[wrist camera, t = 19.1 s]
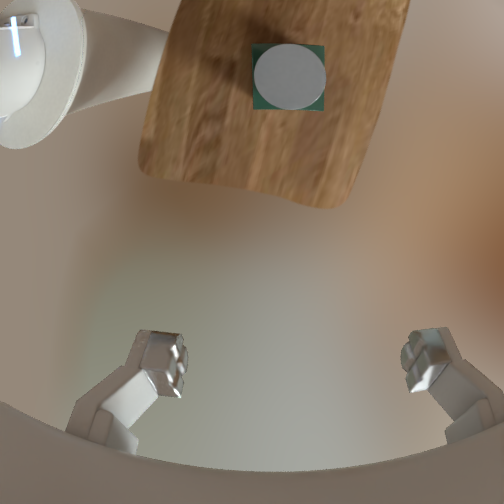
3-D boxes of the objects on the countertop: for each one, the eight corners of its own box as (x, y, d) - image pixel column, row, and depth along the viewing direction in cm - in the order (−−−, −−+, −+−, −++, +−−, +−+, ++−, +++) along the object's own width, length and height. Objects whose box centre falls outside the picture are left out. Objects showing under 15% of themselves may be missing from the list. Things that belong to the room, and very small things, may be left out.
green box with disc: (327, 114, 21) (328, 43, 18) (252, 112, 22) (250, 41, 18) (309, 102, 30) (310, 53, 27) (256, 101, 31) (255, 51, 27)
